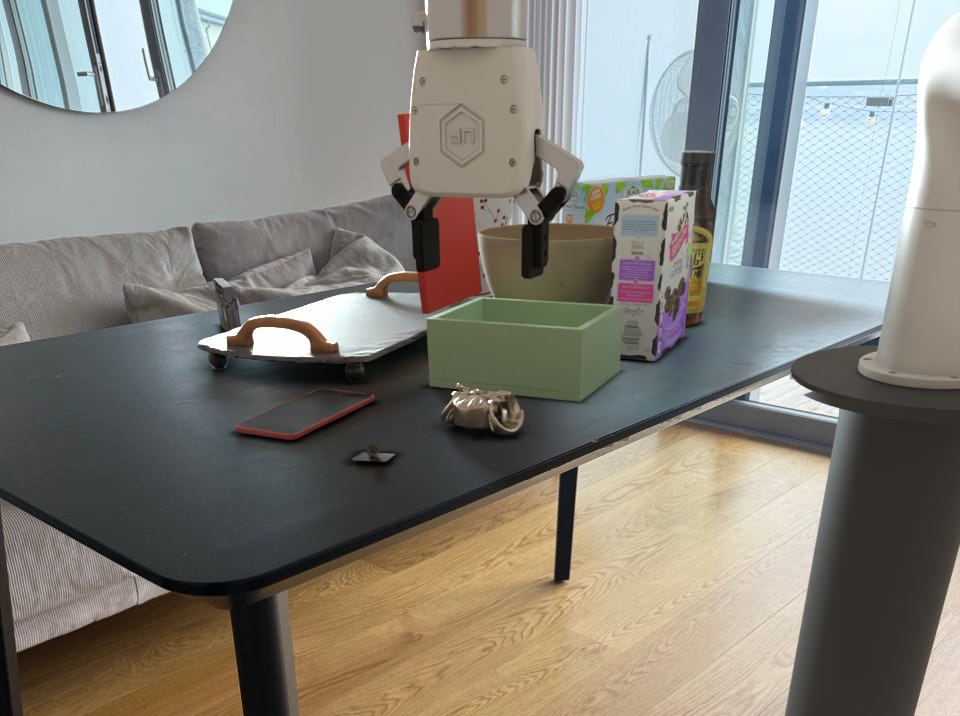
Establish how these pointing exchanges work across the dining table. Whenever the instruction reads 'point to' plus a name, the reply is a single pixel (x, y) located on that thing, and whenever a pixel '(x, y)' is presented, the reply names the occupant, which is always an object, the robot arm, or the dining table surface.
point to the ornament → (484, 410)
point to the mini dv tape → (226, 304)
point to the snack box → (608, 197)
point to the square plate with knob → (373, 454)
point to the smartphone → (304, 414)
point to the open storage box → (525, 347)
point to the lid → (449, 248)
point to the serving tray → (330, 330)
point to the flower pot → (551, 263)
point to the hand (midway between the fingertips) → (479, 273)
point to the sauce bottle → (698, 227)
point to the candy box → (652, 269)
